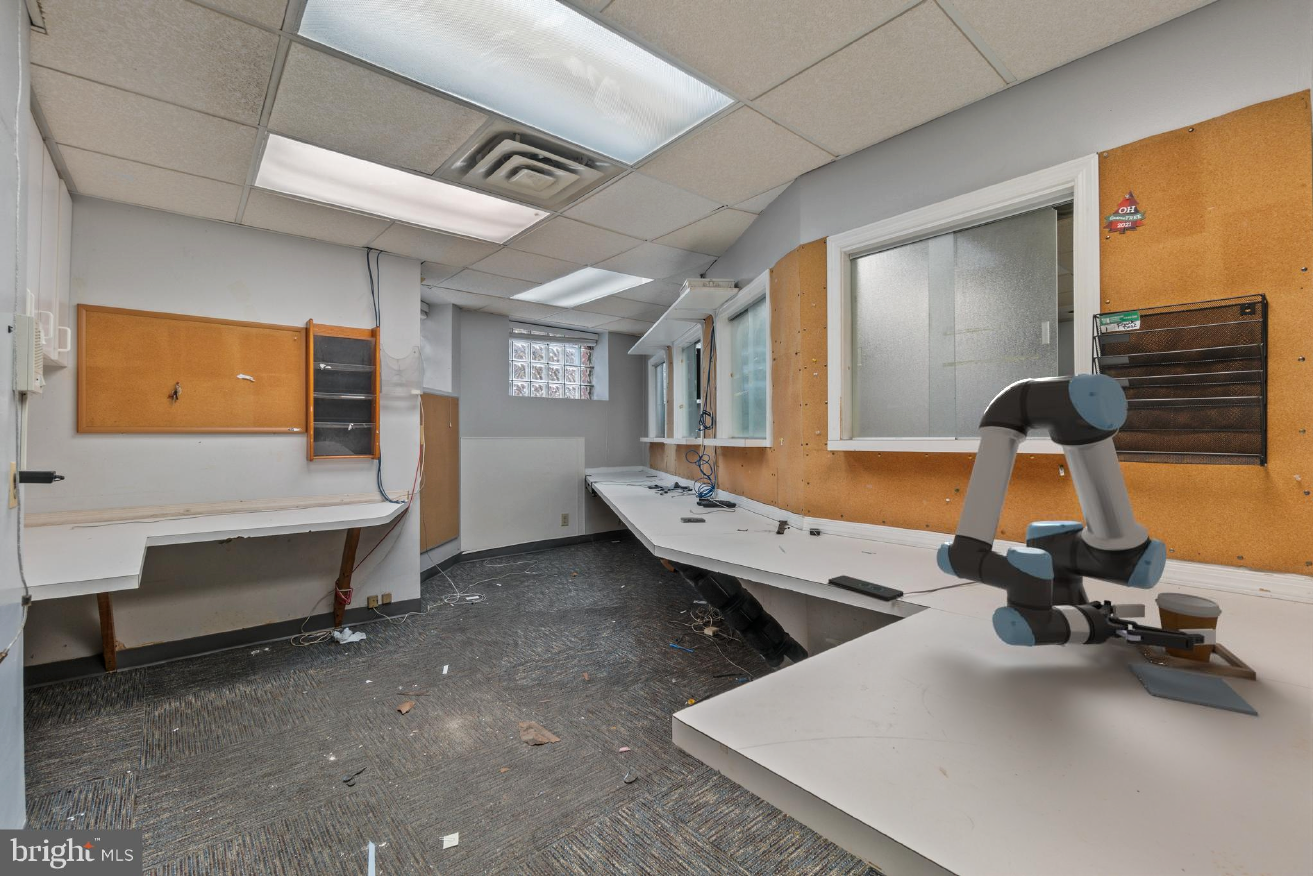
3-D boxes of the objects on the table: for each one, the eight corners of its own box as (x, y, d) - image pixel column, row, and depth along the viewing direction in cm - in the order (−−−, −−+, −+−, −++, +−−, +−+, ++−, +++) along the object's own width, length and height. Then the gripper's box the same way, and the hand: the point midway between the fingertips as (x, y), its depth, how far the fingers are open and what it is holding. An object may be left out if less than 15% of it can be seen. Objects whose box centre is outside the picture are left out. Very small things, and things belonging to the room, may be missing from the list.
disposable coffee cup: (1189, 647, 108) (1190, 592, 108) (1236, 668, 99) (1237, 608, 99) (1141, 645, 109) (1142, 591, 109) (1183, 666, 100) (1183, 607, 100)
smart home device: (888, 596, 139) (827, 579, 155) (888, 603, 139) (827, 584, 155) (904, 591, 143) (843, 574, 160) (904, 597, 143) (843, 579, 160)
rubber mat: (1151, 695, 90) (1151, 692, 90) (1128, 664, 101) (1128, 662, 101) (1257, 715, 83) (1258, 712, 83) (1220, 680, 94) (1220, 678, 94)
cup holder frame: (1151, 662, 101) (1151, 655, 101) (1129, 636, 114) (1129, 630, 114) (1255, 680, 94) (1256, 672, 94) (1219, 650, 107) (1219, 643, 107)
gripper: (1028, 619, 115) (1118, 617, 116) (1135, 672, 90) (1249, 669, 91) (1028, 587, 115) (1118, 585, 116) (1135, 631, 90) (1249, 628, 91)
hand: (1176, 622), depth 103 cm, fingers open, 13 cm apart
